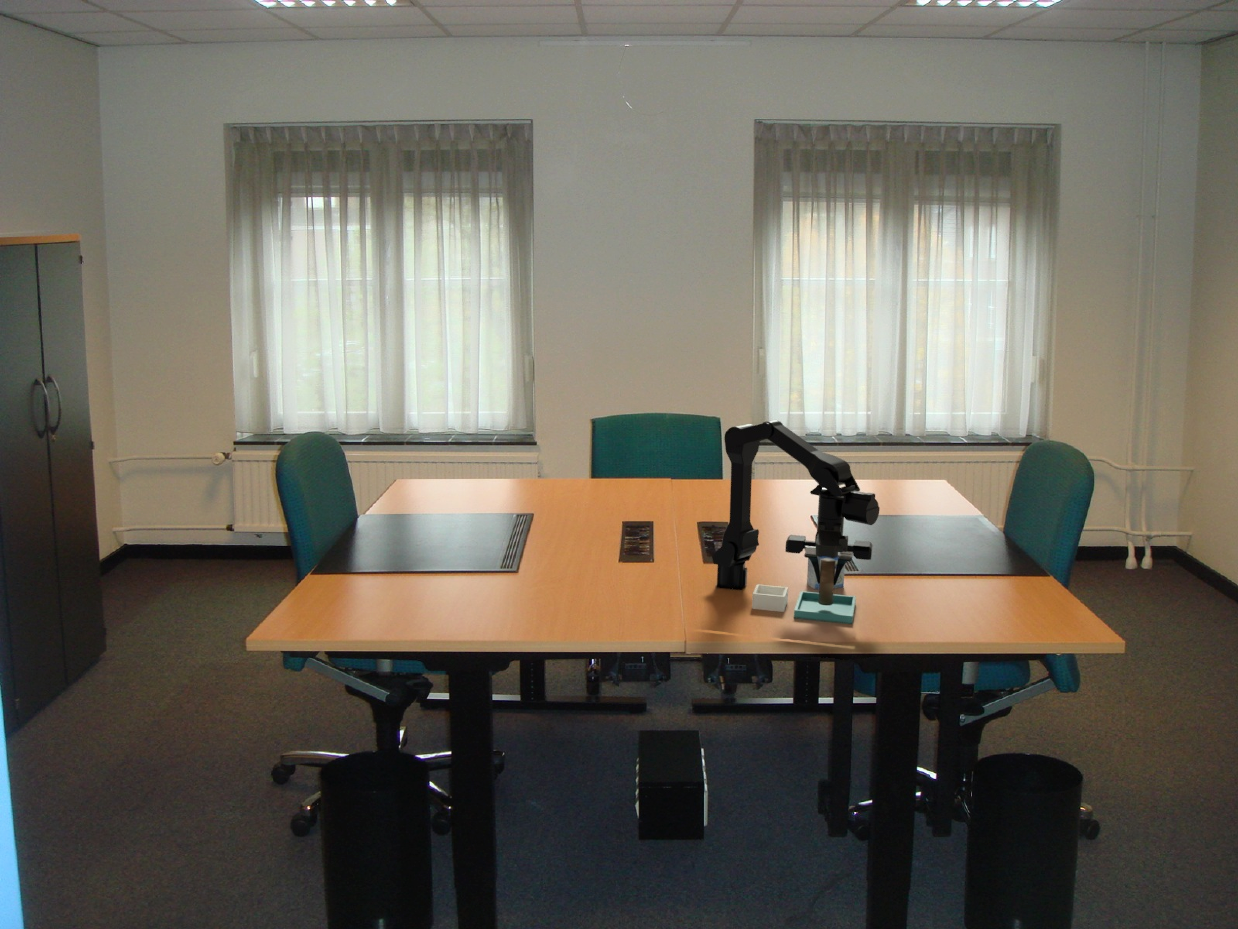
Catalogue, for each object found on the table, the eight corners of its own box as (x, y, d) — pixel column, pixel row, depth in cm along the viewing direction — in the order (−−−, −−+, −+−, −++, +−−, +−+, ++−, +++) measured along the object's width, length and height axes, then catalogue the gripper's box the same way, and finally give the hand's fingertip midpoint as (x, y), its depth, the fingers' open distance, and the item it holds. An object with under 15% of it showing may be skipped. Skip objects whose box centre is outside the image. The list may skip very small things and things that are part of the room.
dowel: (817, 604, 238) (820, 561, 236) (818, 600, 241) (821, 557, 239) (832, 606, 237) (835, 563, 235) (833, 601, 240) (835, 559, 238)
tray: (793, 620, 234) (794, 610, 234) (800, 600, 248) (800, 591, 247) (852, 626, 231) (852, 616, 231) (855, 606, 244) (855, 596, 244)
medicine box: (814, 591, 255) (816, 556, 253) (806, 585, 259) (808, 551, 257) (843, 589, 257) (846, 554, 255) (835, 583, 261) (837, 549, 259)
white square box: (751, 610, 240) (752, 593, 239) (756, 600, 247) (757, 584, 246) (783, 613, 238) (784, 596, 237) (787, 603, 245) (788, 587, 244)
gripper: (784, 521, 230) (780, 590, 233) (872, 529, 225) (867, 599, 228) (790, 509, 240) (786, 576, 243) (874, 516, 235) (869, 584, 239)
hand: (826, 584), depth 238 cm, fingers closed on dowel, 3 cm apart
